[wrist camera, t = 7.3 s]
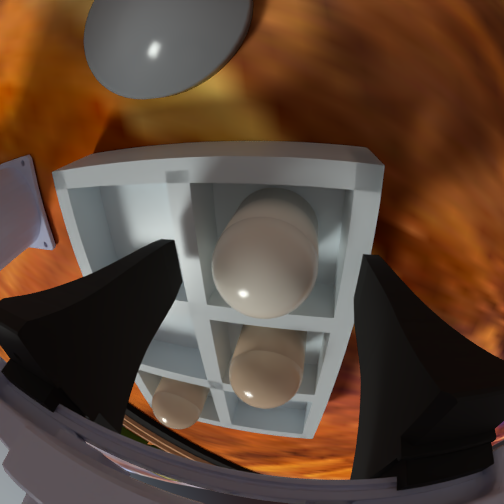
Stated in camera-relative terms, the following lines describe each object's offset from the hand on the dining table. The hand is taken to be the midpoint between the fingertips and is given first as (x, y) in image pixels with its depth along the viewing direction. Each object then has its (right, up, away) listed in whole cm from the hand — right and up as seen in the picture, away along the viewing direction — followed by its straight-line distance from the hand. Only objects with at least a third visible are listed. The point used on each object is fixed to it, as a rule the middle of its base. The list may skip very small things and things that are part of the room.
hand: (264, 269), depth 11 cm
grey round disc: (-5, +12, -1) cm, 13 cm away
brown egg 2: (+1, -4, +6) cm, 8 cm away
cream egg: (+1, +2, +3) cm, 3 cm away
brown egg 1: (-6, -10, +11) cm, 16 cm away
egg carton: (-2, -4, +8) cm, 9 cm away
